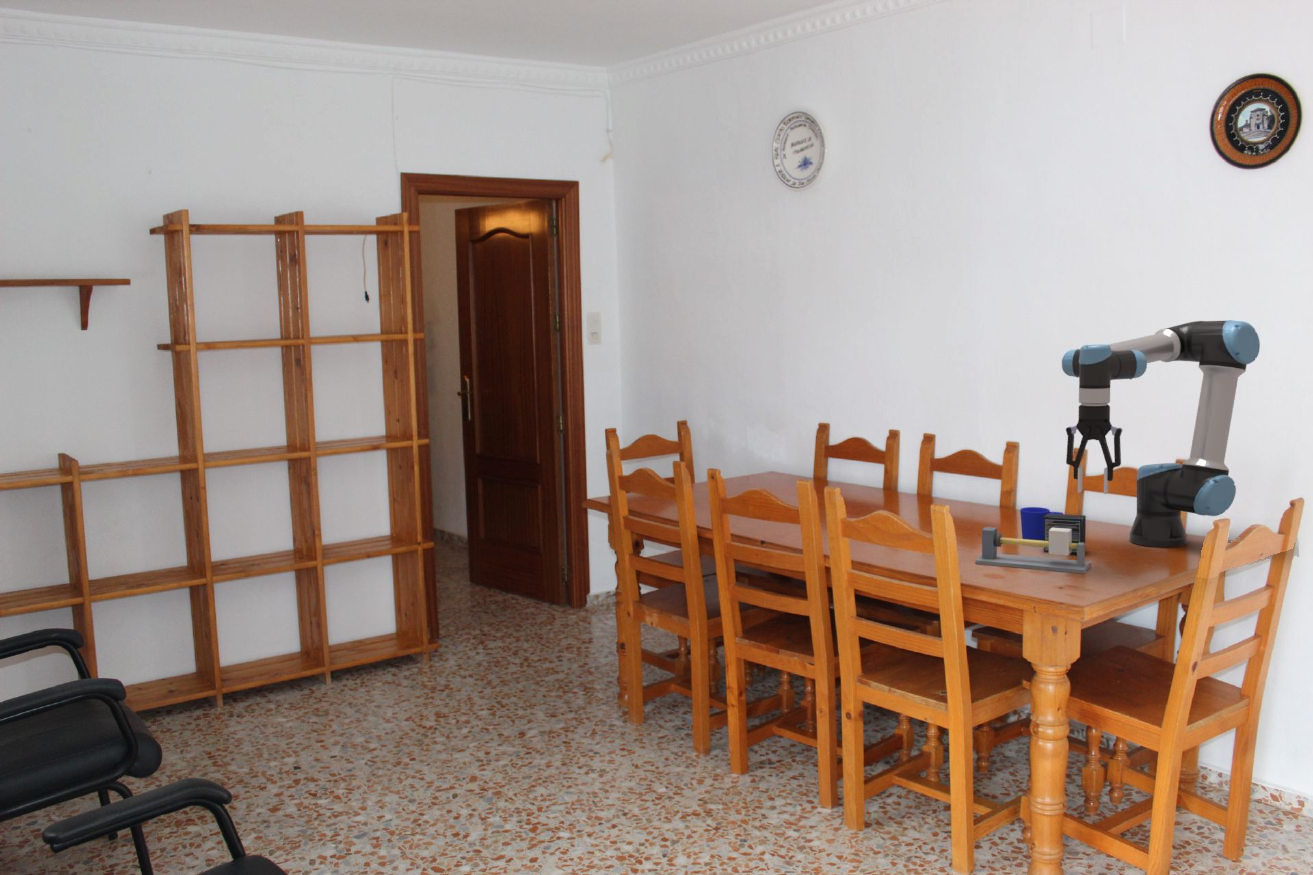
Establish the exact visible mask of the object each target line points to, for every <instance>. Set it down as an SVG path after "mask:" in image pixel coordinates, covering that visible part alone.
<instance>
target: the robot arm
mask: <svg viewBox="0 0 1313 875" xmlns="http://www.w3.org/2000/svg"><path fill="white" fill-rule="evenodd" d="M1260 344H1261V342H1260V337H1259V334H1258V332H1257V331H1256V329H1255V327H1254V326H1253V325H1252V324H1250V323H1249V322H1247V321H1243V320H1242V321H1241V320H1196V321H1190V322H1186V323H1182V324H1178V325H1174V326H1170V327H1166V328H1162V329H1158V330H1157V331H1156V332H1155V333H1154V334H1151V335H1150V334H1149V335H1147V336H1146V335H1145V336H1142V337H1137V338H1132V339H1127V340H1122V341H1118V342H1114V343H1109V344H1104V343H1103V344H1099V343H1098V344H1083V345H1082V346H1081V347H1080V349H1079V348H1076V349H1070V350H1068V351H1066V352H1065V353H1064V354H1063V356H1062V359H1061V369H1062V371H1063V373H1064V374H1065V375H1066V376H1068V377H1074V378H1079V380H1078V382H1079V384H1078V386H1079V387H1078V403H1079V404H1080V405H1078V421H1077V424H1076V425H1074V426H1068V427H1066V428H1065V431H1066V434H1067V441H1066V442H1067V445H1066V446H1067V447H1066V460H1065V461H1066V462H1065V463H1066V465H1069V466H1071V467H1073V479H1074V480H1077V493H1081V492H1083V476H1084V475H1083V472H1084V469H1083V468H1084V467H1083V466H1080V465H1081V463H1082V462H1081V461H1082V459H1083V455H1084V453H1085V450H1086V447H1087V444H1088V442H1089V441H1091V440H1094V441H1098V442H1099V444H1100V448H1101V450H1102V454H1103V457H1104V461H1105V464H1106V467H1104V469H1103V495H1108V493H1109V484H1110V483H1109V482H1112V481H1113V480H1114V468H1117V467H1120V466H1121V464H1122V453H1121V451H1122V450H1121V435H1122V433H1123V428H1122V427H1116V426H1113V425H1112V422H1111V406H1110V405H1109V403H1111V381H1115V380H1133V379H1137V378H1140V377H1141V376H1143V375H1144V374H1145V373H1146V371H1147V367H1148V364H1149V363H1154V362H1160V361H1161V362H1163V363H1171V362H1181V361H1182V362H1195V363H1199V364H1198V369H1200V371H1201V372H1202V374H1203V375H1202V380H1201V388H1200V393H1199V394H1200V395H1199V398H1198V407H1197V410H1196V411H1197V412H1196V416H1195V417H1196V419H1195V425H1194V430H1193V435H1192V436H1193V437H1192V443H1191V447H1190V455H1189V457H1188V459H1186V460H1185V461H1183V462H1182V463H1178V462H1171V463H1170V462H1168V463H1167V462H1166V463H1152V464H1145V465H1141V466H1140V467H1139V468H1138V469H1137V478H1136V516H1135V518H1134V521H1133V524H1132V526H1131V529H1130V532H1129V542H1130V543H1132V544H1135V545H1139V546H1144V547H1150V548H1178V547H1184V546H1186V545H1188V535H1187V533H1186V529H1185V526H1184V523H1183V520H1182V512H1185V513H1188V514H1189V513H1191V514H1196V515H1199V516H1209V517H1217V516H1220V515H1222V514H1224V513H1225V512H1226V511H1227V510H1228V509H1229V508H1230V507H1231V506H1232V504H1233V502H1234V500H1235V498H1236V493H1237V487H1236V486H1237V485H1235V484H1236V483H1235V481H1234V479H1233V478H1232V477H1230V476H1229V474H1230V473H1229V472H1230V469H1229V467H1228V466H1227V465H1226V464H1225V459H1226V453H1227V447H1228V441H1229V435H1230V429H1231V424H1232V423H1231V422H1232V417H1233V409H1234V405H1235V399H1236V393H1237V386H1238V380H1239V377H1240V376H1242V375H1243V374H1244V373H1246V370H1247V365H1249V364H1251V363H1253V362H1255V361H1256V358H1257V357H1258V355H1259V354H1260V347H1261V346H1260ZM1077 430H1078V432H1079V434H1081V436H1082V438H1081V441H1080V444H1079V446H1078V450H1077V453H1076V456H1075V459H1074V460H1073V458H1074V446H1075V445H1074V444H1075V434H1076V433H1077ZM1110 431H1111V435H1112V436H1113V450H1114V451H1113V452H1114V454H1113V455H1114V462H1113V459H1112V455H1111V453H1110V449H1109V445H1108V442H1107V438H1106V436H1107V434H1109V432H1110Z"/></svg>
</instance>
